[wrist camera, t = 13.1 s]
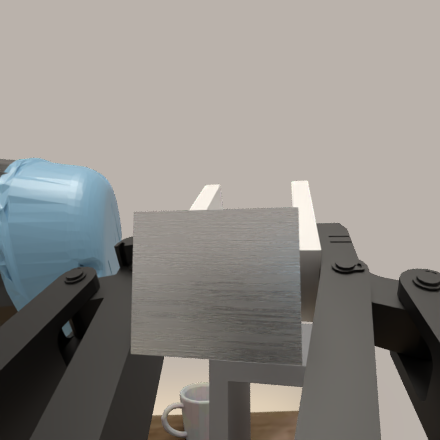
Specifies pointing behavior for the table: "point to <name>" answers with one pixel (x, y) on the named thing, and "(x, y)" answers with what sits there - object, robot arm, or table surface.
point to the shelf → (246, 390)
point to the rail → (217, 285)
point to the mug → (191, 412)
